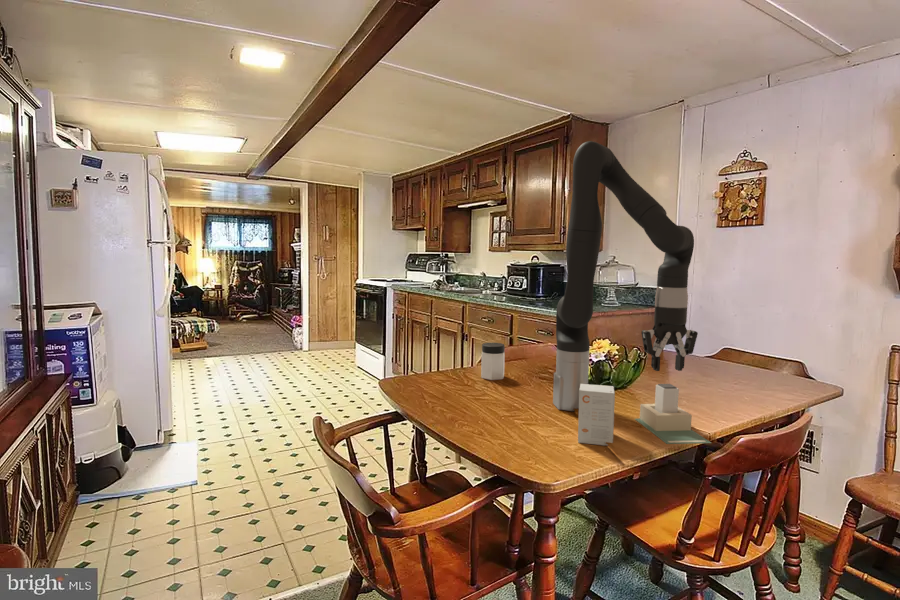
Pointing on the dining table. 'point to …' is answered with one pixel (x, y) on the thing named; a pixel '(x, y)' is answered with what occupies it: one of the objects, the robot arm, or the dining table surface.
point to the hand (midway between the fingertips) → (667, 369)
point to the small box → (596, 414)
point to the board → (676, 435)
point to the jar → (492, 361)
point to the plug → (666, 398)
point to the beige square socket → (665, 419)
